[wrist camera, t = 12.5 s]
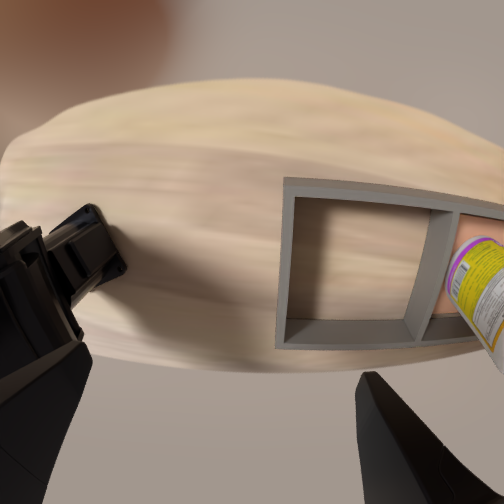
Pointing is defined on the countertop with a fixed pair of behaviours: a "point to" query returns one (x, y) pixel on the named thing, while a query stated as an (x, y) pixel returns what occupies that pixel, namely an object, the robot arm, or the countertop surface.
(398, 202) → the tray
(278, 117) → the countertop surface
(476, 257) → the supplement bottle
